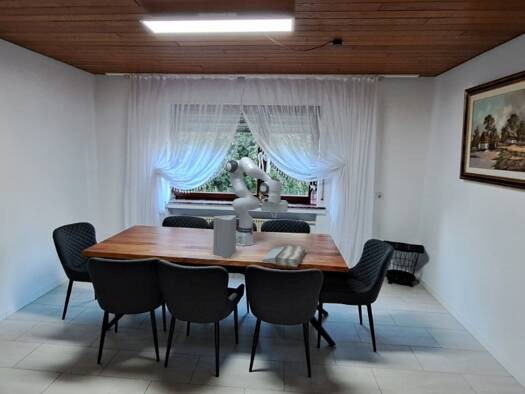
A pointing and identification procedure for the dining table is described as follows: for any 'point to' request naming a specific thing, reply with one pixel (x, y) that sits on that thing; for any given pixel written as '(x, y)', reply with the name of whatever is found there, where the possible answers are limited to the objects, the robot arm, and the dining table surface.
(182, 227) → the dining table surface
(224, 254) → the tall grey upright block
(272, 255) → the decorative molding
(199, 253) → the dining table surface
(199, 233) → the dining table surface
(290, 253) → the grey beige flat block
